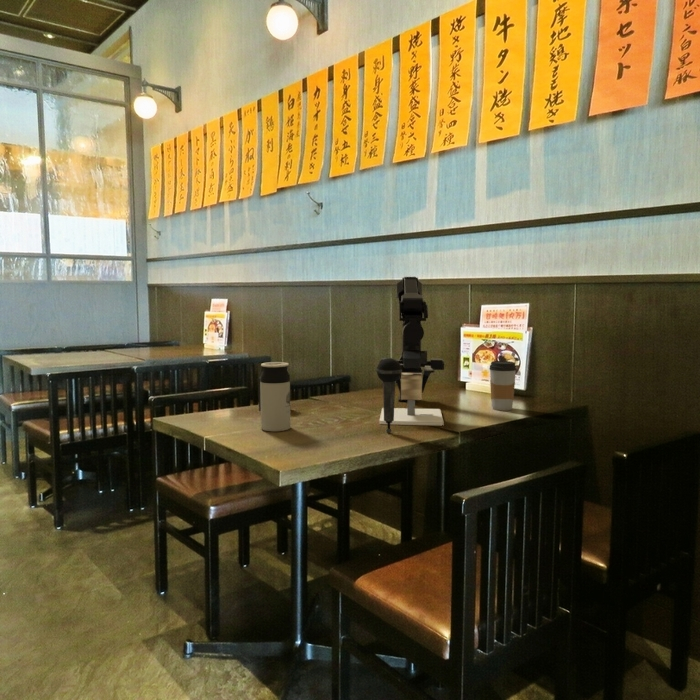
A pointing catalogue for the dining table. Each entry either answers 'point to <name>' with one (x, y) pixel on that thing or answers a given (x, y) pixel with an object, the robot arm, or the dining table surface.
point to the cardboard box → (411, 386)
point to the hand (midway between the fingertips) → (411, 392)
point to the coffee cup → (502, 384)
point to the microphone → (389, 386)
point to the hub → (414, 416)
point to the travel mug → (275, 396)
